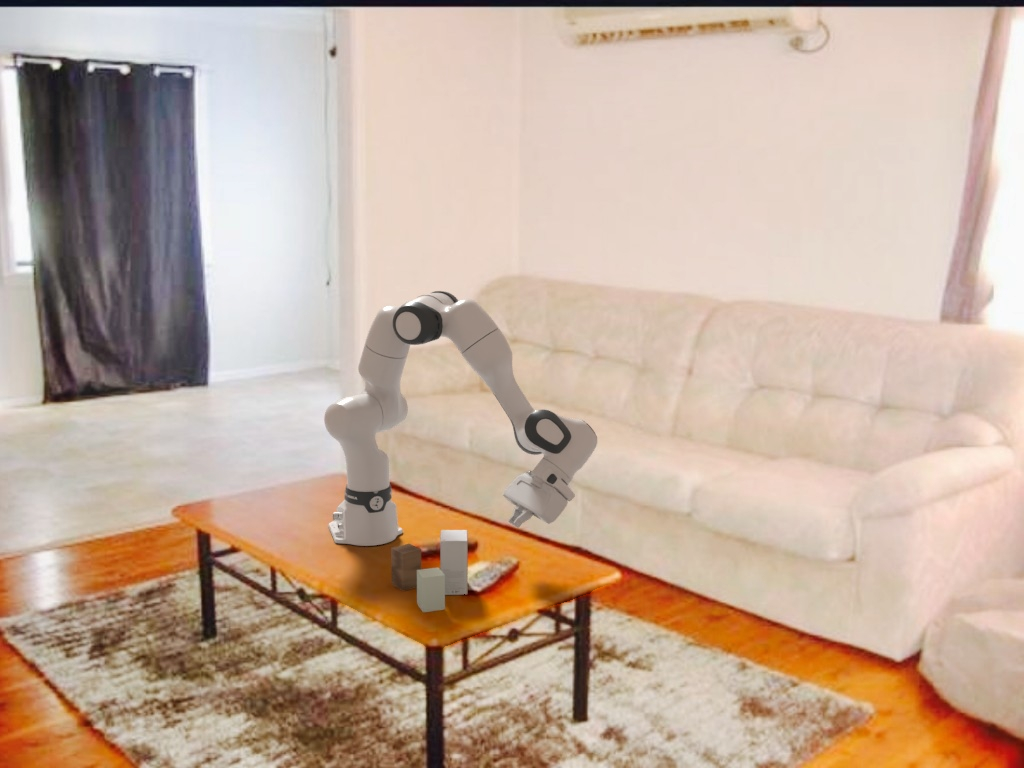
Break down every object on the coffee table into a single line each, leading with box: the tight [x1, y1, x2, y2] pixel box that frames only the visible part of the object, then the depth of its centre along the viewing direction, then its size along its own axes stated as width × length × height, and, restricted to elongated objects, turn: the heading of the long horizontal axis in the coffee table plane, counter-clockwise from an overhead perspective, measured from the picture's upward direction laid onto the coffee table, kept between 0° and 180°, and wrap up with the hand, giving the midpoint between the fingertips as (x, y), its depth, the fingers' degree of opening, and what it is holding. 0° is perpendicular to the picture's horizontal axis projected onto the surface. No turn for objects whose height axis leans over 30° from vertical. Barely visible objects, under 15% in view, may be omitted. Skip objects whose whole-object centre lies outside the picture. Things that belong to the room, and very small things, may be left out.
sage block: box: [416, 566, 446, 613], centre depth 229 cm, size 5×5×8 cm
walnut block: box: [390, 543, 422, 592], centre depth 241 cm, size 5×5×9 cm
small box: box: [439, 529, 469, 596], centre depth 239 cm, size 8×6×13 cm
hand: (512, 524), depth 245 cm, fingers closed
